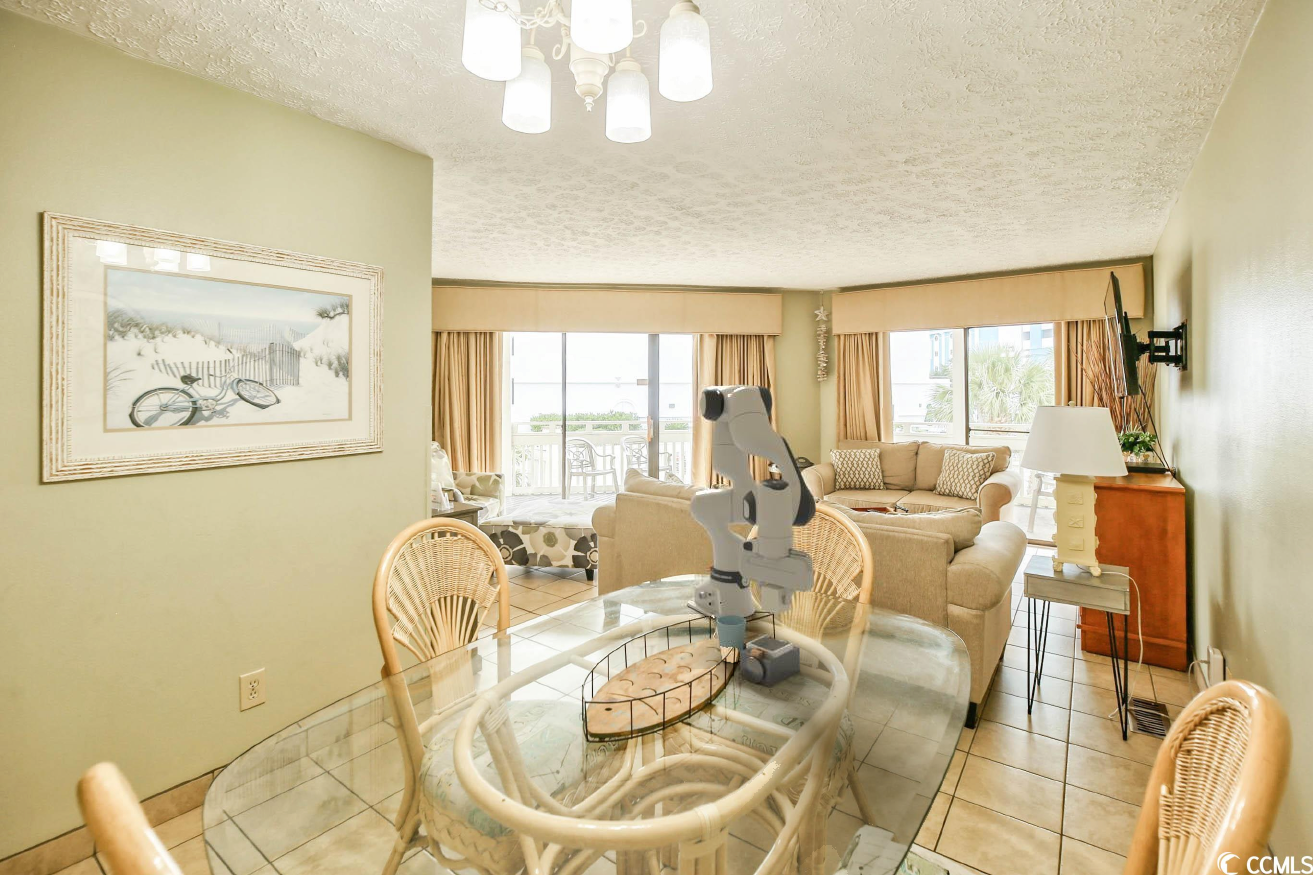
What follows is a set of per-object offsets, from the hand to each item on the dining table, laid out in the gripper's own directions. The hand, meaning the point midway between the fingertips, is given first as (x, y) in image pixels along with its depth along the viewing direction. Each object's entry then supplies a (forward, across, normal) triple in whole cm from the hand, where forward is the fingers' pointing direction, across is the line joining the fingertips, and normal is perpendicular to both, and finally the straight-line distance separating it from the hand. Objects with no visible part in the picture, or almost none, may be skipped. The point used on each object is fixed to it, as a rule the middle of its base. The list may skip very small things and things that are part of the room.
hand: (775, 601), depth 152 cm
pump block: (+2, 0, 0) cm, 2 cm away
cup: (+18, +13, +2) cm, 22 cm away
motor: (+18, +1, +2) cm, 18 cm away
